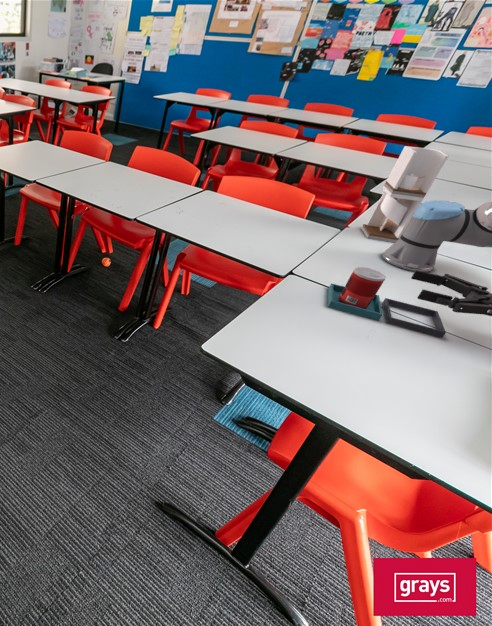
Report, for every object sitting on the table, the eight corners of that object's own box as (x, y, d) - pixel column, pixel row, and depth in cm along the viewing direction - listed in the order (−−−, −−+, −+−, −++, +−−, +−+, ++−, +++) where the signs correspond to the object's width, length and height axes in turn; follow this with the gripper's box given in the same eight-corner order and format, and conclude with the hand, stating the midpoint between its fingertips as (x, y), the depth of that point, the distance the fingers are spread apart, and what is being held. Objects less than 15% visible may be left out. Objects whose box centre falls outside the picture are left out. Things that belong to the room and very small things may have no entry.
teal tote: (328, 289, 140) (331, 283, 139) (375, 301, 135) (379, 295, 134) (327, 307, 131) (331, 300, 130) (378, 321, 125) (382, 314, 124)
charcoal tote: (382, 303, 134) (385, 297, 133) (433, 316, 129) (437, 311, 128) (385, 323, 125) (389, 317, 124) (441, 338, 119) (446, 332, 118)
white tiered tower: (361, 228, 187) (404, 146, 167) (389, 233, 183) (437, 149, 163) (367, 237, 178) (414, 152, 158) (397, 242, 175) (448, 156, 155)
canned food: (372, 311, 129) (391, 280, 123) (343, 308, 130) (361, 277, 124) (360, 298, 135) (378, 268, 129) (333, 295, 136) (350, 265, 130)
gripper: (518, 341, 107) (415, 314, 115) (492, 298, 124) (404, 277, 133) (540, 317, 102) (431, 291, 111) (510, 276, 120) (418, 256, 129)
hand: (416, 283), depth 122 cm, fingers open, 13 cm apart
